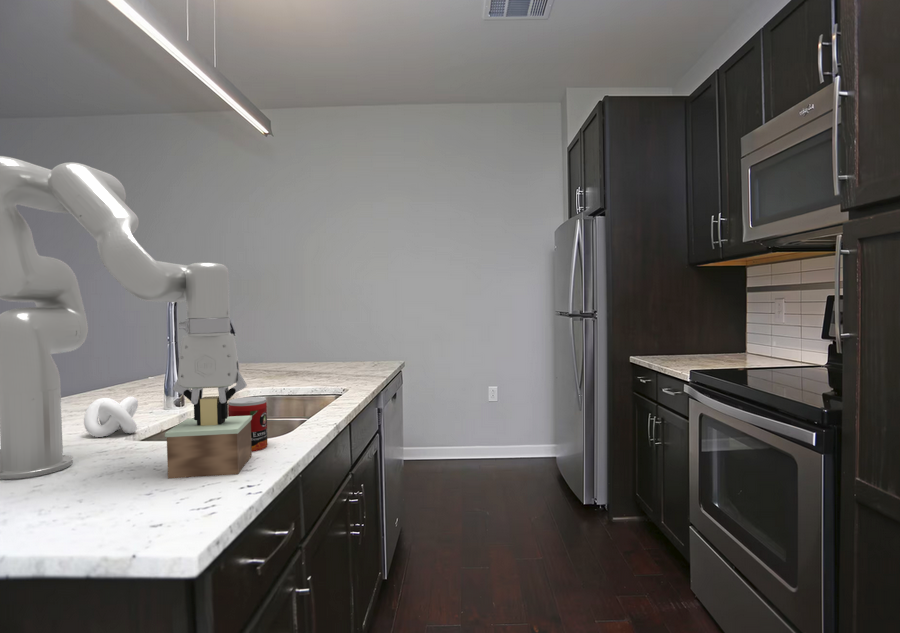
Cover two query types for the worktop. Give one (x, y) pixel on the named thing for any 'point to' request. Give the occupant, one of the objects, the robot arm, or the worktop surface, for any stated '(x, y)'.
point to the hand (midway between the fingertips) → (211, 422)
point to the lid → (209, 422)
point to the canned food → (259, 418)
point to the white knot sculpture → (110, 416)
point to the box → (208, 454)
